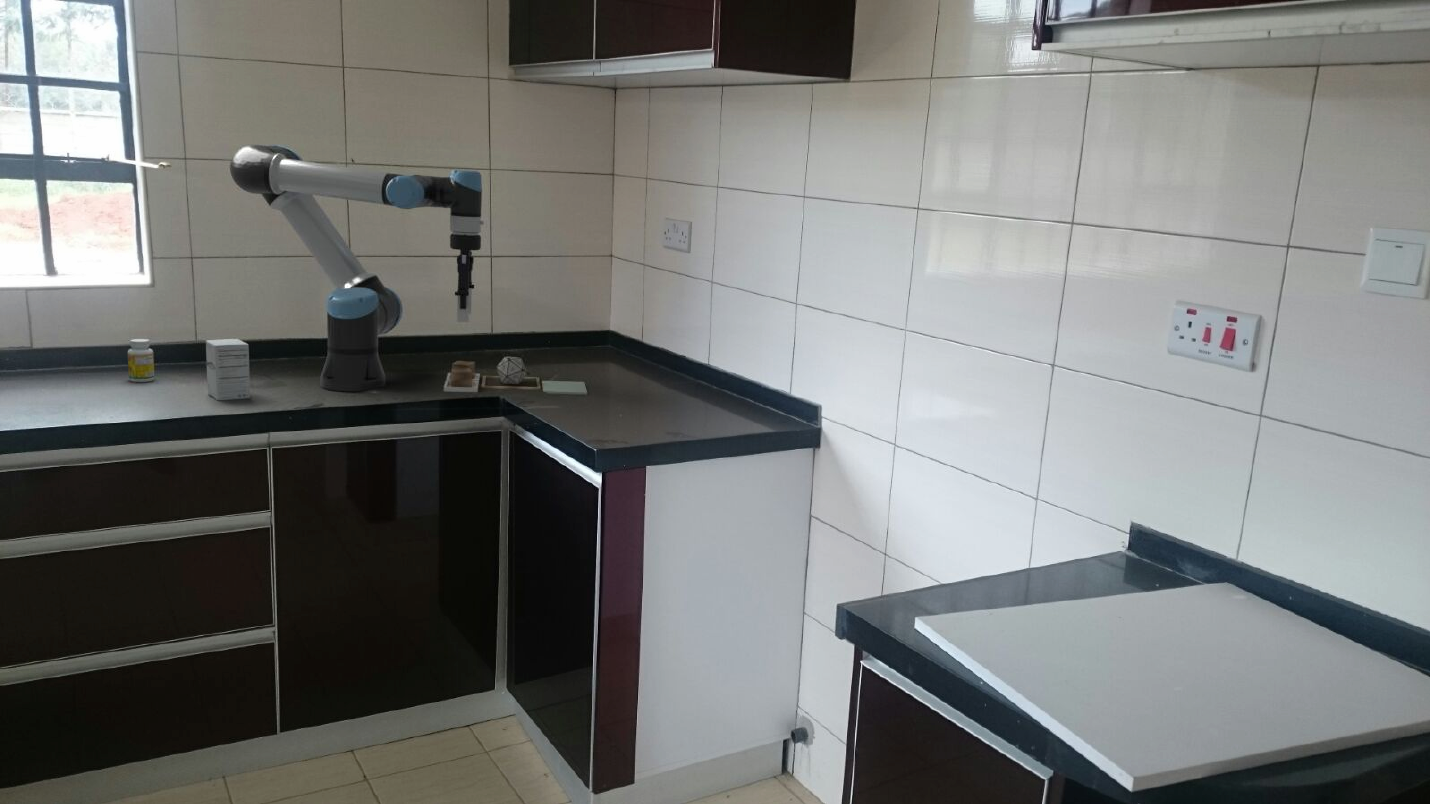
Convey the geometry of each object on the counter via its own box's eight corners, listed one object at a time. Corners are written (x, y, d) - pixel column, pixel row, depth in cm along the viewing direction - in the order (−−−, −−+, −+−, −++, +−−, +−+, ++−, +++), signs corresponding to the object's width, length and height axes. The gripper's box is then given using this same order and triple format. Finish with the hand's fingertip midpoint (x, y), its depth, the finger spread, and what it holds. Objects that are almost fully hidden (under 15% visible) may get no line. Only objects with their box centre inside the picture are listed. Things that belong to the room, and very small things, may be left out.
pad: (543, 393, 267) (543, 391, 266) (541, 383, 279) (541, 380, 279) (587, 394, 269) (587, 392, 269) (583, 384, 281) (584, 381, 281)
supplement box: (206, 394, 243) (204, 339, 240) (240, 391, 247) (239, 338, 245) (216, 401, 237) (214, 345, 234) (251, 398, 242) (249, 343, 239)
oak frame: (481, 390, 266) (481, 386, 265) (482, 379, 279) (483, 375, 278) (540, 391, 268) (540, 388, 268) (539, 381, 281) (539, 377, 281)
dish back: (446, 385, 269) (446, 379, 268) (448, 378, 276) (448, 372, 276) (478, 386, 270) (478, 379, 270) (479, 379, 278) (479, 373, 278)
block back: (451, 381, 271) (452, 363, 270) (457, 377, 276) (457, 360, 275) (469, 382, 271) (469, 365, 270) (474, 379, 275) (474, 362, 274)
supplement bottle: (154, 382, 251) (152, 342, 249) (128, 382, 249) (126, 342, 247) (154, 377, 256) (152, 338, 254) (129, 378, 253) (126, 338, 251)
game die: (517, 398, 276) (540, 368, 277) (508, 393, 267) (533, 362, 268) (490, 378, 277) (514, 348, 278) (481, 372, 269) (505, 341, 270)
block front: (453, 390, 261) (453, 372, 260) (451, 386, 265) (451, 368, 264) (471, 390, 262) (472, 372, 261) (469, 386, 267) (469, 368, 266)
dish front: (443, 393, 259) (443, 387, 259) (445, 386, 267) (445, 380, 267) (477, 394, 261) (477, 388, 260) (478, 387, 268) (478, 381, 268)
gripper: (479, 237, 254) (477, 325, 258) (482, 231, 278) (481, 311, 282) (446, 236, 252) (445, 324, 257) (453, 229, 276) (452, 310, 281)
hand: (464, 318), depth 270 cm, fingers open, 13 cm apart
